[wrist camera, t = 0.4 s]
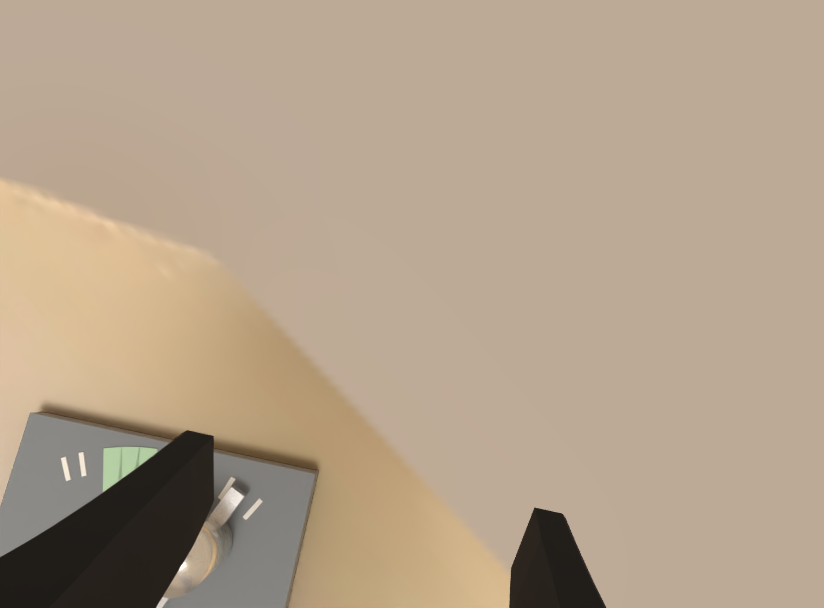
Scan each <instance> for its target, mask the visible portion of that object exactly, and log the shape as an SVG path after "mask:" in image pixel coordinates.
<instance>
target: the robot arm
mask: <svg viewBox="0 0 824 608" xmlns="http://www.w3.org/2000/svg"><path fill="white" fill-rule="evenodd" d="M213 502H214V438H213V436H211V435H206V434H202V433H197V432H193V431H188V430H187V431H185V432H183V433H182V434H181V435H179V436H178V437H177V438H175V439H174V440H173V441H171V442H170V443H169V444H167V445H166V446H165V447H164V448H162V449H161V450H160V451H158V452H157V453H156V454H154V455H153V456H152V457H150V458H149V459H148V460H147V461H145V462H144V463H143V464H141V465H140V466H139V467H137V468H136V469H135V470H133V471H132V472H130V473H129V474H128V475H126V476H125V477H124V478H122V479H121V480H119V481H118V482H117V483H115V484H114V485H112V486H111V487H110V488H108V489H107V490H105V491H104V492H103V493H101V494H100V495H98V496H97V497H96V498H94V499H93V500H91V501H90V502H88V503H87V504H85V505H84V506H82V507H81V508H79V509H78V510H76V511H75V512H73V513H72V514H70V515H68V516H67V517H65V518H64V519H62V520H61V521H59V522H58V523H56V524H55V525H53V526H52V527H50V528H48V529H47V530H45V531H44V532H42V533H40V534H39V535H37V536H35V537H34V538H32V539H30V540H29V541H27V542H25V543H24V544H22V545H20V546H19V547H17V548H15V549H13V550H12V551H10V552H8V553H6V554H5V555H3V556H1V557H0V608H156V607H157V605H158V604H159V602H160V600H161V599H162V597H163V595H164V594H165V592H166V591H167V589H168V587H169V586H170V584H171V582H172V581H173V579H174V577H175V576H176V574H177V572H178V571H179V569H180V567H181V566H182V564H183V562H184V561H185V559H186V557H187V556H188V554H189V552H190V551H191V549H192V547H193V545H194V544H195V541H196V539H197V537H198V535H199V533H200V531H201V529H202V527H203V525H204V522H205V520H206V518H207V516H208V513H209V511H210V509H211V507H212V504H213ZM509 608H606V606H605V604H604V602H603V600H602V598H601V596H600V594H599V592H598V590H597V588H596V586H595V584H594V582H593V580H592V578H591V575H590V573H589V571H588V569H587V567H586V564H585V562H584V560H583V558H582V556H581V553H580V551H579V549H578V546H577V544H576V542H575V540H574V537H573V535H572V533H571V530H570V528H569V525H568V523H567V520H566V518H565V517H564V515H563V514H561V513H557V512H552V511H548V510H543V509H539V508H534V510H533V513H532V516H531V518H530V521H529V523H528V526H527V528H526V531H525V534H524V536H523V539H522V541H521V544H520V547H519V549H518V552H517V554H516V557H515V560H514V562H513V565H512V567H511V581H510V605H509Z"/></svg>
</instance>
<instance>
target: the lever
mask: <svg viewBox="0 0 824 608" xmlns="http://www.w3.org/2000/svg"><path fill="white" fill-rule="evenodd" d="M247 495H248V494H246V493H245V492H244V491H242V490H241V489H240V488H239V487H237V486H236V485H234V486H232V487H231V488H230V489H229V491H228V492H227V493H226V495H225V496H224V497H223V499H222V500H221V501H220V503H219V504H218V505H217V507H216V508H215V509H214V511H213V512H210V511H209V513H208V516H207V518H206V520H205V522H204V525H203V527H202V529H201V531H200V533H199V535H198V537H197V539H196V541H195V544H194V545H193V547H192V549H191V551H190V552H189V554H188V556H187V557H186V559H185V561H184V562H183V564H182V566H181V567H180V569H179V571H178V572H177V574H176V576H175V577H174V579H173V581H172V582H171V584H170V586H169V587H168V589H167V591H166V592H165V594H164V595H163V597H162V599H161V600H160V602H159V604H158V605H157V607H156V608H164V607H165V605H166V604H167V603H168V601H169V600H170V599H171V598H177V597H181V596H184V595H186V594H188V593H189V592H191V591H192V590H193V589H194V588H195V587H196V586H198V585H199V584H200V583H201V582H202V581H203V580H204V579H205V578H206V577H207V576H209V575H210V574H211V573H212V572H213V571H214V570H215V569H216V568H217V567H218V566H220V565H221V564H222V563H223V562H224V561H225V559H226V558H227V556H228V554H229V552H230V549H231V546H232V534H231V530H230V527H229V525H228V524H227V522H228V520H229V519H230V518H231V516H232V515H233V513H234V512H235V511H236V509H237V508H238V507H239V505H240V504H241V503H242V501H243V500H244V499H245V497H246V496H247Z"/></svg>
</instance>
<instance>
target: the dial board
mask: <svg viewBox="0 0 824 608" xmlns="http://www.w3.org/2000/svg"><path fill="white" fill-rule="evenodd" d="M171 441H173V440H172V439H167V438H162V437H158V436H153V435H148V434H144V433H139V432H134V431H130V430H125V429H120V428H116V427H111V426H107V425H102V424H97V423H93V422H88V421H83V420H79V419H74V418H69V417H65V416H60V415H55V414H51V413H46V412H38V413H30V415H29V418H28V421H27V424H26V428H25V431H24V434H23V437H22V440H21V443H20V446H19V450H18V453H17V456H16V459H15V462H14V465H13V469H12V472H11V475H10V478H9V481H8V484H7V487H6V491H5V494H4V497H3V500H2V503H1V506H0V557H1V556H3V555H5V554H6V553H8V552H10V551H12V550H13V549H15V548H17V547H19V546H20V545H22V544H24V543H25V542H27V541H29V540H30V539H32V538H34V537H35V536H37V535H39V534H40V533H42V532H44V531H45V530H47V529H48V528H50V527H52V526H53V525H55V524H56V523H58V522H59V521H61V520H62V519H64V518H65V517H67V516H68V515H70V514H72V513H73V512H75V511H76V510H78V509H79V508H81V507H82V506H84V505H85V504H87V503H88V502H90V501H91V500H93V499H94V498H96V497H97V496H98V495H100V494H101V493H103V492H104V491H105V490H107V489H108V488H110V487H111V486H112V485H114V484H115V483H117V482H118V481H119V480H121V479H122V478H124V477H125V476H126V475H128V474H129V473H130V472H132V471H133V470H135V469H136V468H137V467H139V466H140V465H141V464H143V463H144V462H145V461H147V460H148V459H149V458H150V457H152V456H153V455H154V454H156V453H157V452H158V451H160V450H161V449H162V448H164V447H165V446H166V445H167V444H169V443H170V442H171ZM318 472H319V471H316V470H311V469H307V468H302V467H297V466H293V465H288V464H283V463H279V462H274V461H269V460H265V459H260V458H255V457H251V456H246V455H242V454H237V453H232V452H228V451H223V450H218V449H214V502H213V504H212V507H211V509H210V512H213V511H214V509H215V508H216V507H217V505H218V504H219V503H220V501H221V500H222V499H223V497H224V496H225V495H226V493H227V492H228V491H229V489H230V488H231V487H232V486H234V485H236V486H237V487H239V488H240V489H241V490H242V491H244V492H245V493H246V494H248V495H247V496H246V497H245V499H244V500H243V501H242V503H241V504H240V505H239V507H238V508H237V509H236V511H235V512H234V513H233V515H232V516H231V518H230V519H229V520H228V522H227V524H228V525H229V527H230V530H231V534H232V546H231V549H230V552H229V554H228V556H227V558H226V559H225V561H224V562H223V563H222V564H221V565H220V566H218V567H217V568H216V569H215V570H214V571H213V572H212V573H211V574H210V575H209V576H207V577H206V578H205V579H204V580H203V581H202V582H201V583H200V584H199V585H198V586H196V587H195V588H194V589H193V590H192V591H191V592H189V593H188V594H186V595H184V596H181V597H177V598H171V599H170V600H169V601H168V603H167V604H166V605H165V607H164V608H288V603H289V599H290V595H291V590H292V586H293V581H294V577H295V573H296V568H297V564H298V559H299V555H300V551H301V546H302V542H303V538H304V533H305V529H306V524H307V520H308V516H309V511H310V507H311V503H312V498H313V494H314V489H315V485H316V481H317V476H318Z"/></svg>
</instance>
